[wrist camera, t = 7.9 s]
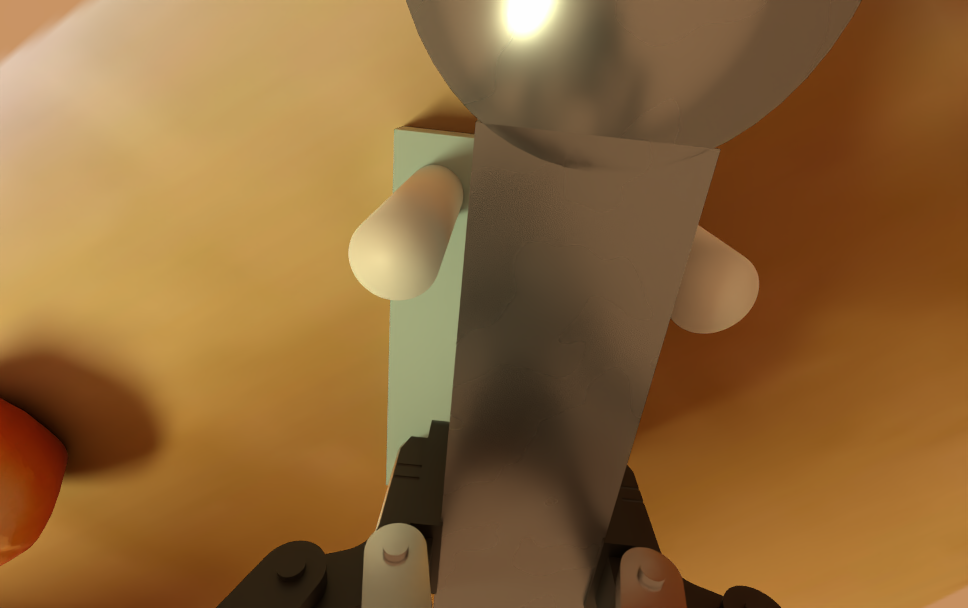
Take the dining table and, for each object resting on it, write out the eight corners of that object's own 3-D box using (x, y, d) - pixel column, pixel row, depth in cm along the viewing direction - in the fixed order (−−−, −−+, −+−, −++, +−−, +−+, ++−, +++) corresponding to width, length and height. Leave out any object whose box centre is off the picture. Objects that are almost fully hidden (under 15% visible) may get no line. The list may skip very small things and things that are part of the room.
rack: (589, 482, 24) (630, 670, 16) (392, 462, 24) (340, 641, 16) (674, 156, 17) (814, 211, 10) (402, 125, 17) (321, 155, 9)
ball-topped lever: (570, 600, 17) (589, 739, 13) (405, 584, 17) (379, 720, 13) (850, -412, 7) (1217, -938, 3) (453, -462, 7) (403, -1052, 3)
